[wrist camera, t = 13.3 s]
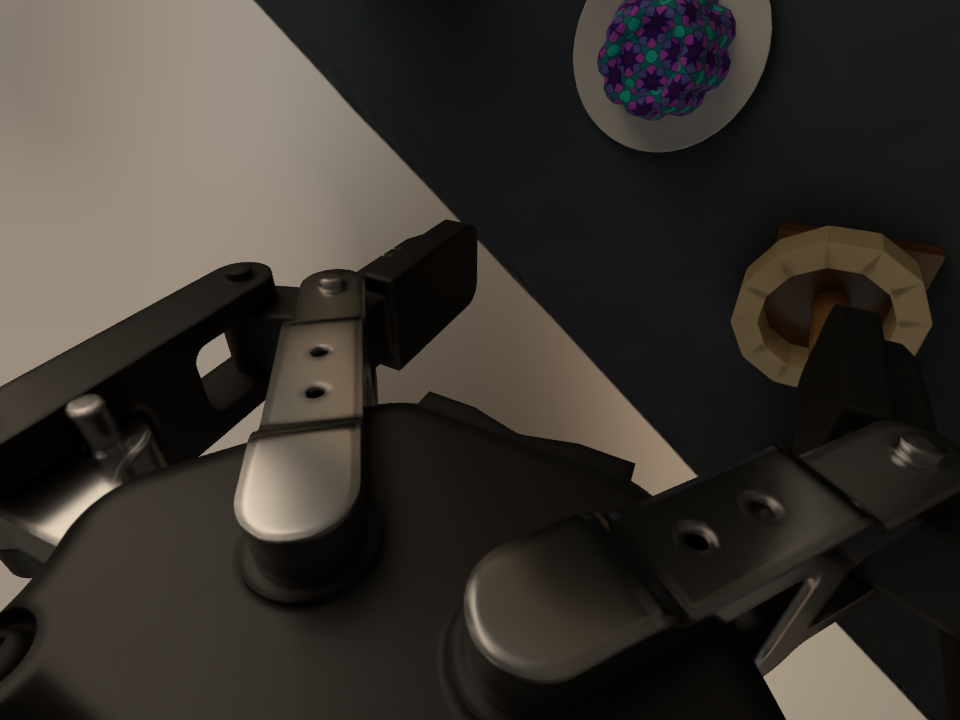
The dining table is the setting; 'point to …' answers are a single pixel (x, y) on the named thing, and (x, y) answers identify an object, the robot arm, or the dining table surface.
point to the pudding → (669, 67)
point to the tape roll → (816, 253)
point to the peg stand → (833, 292)
